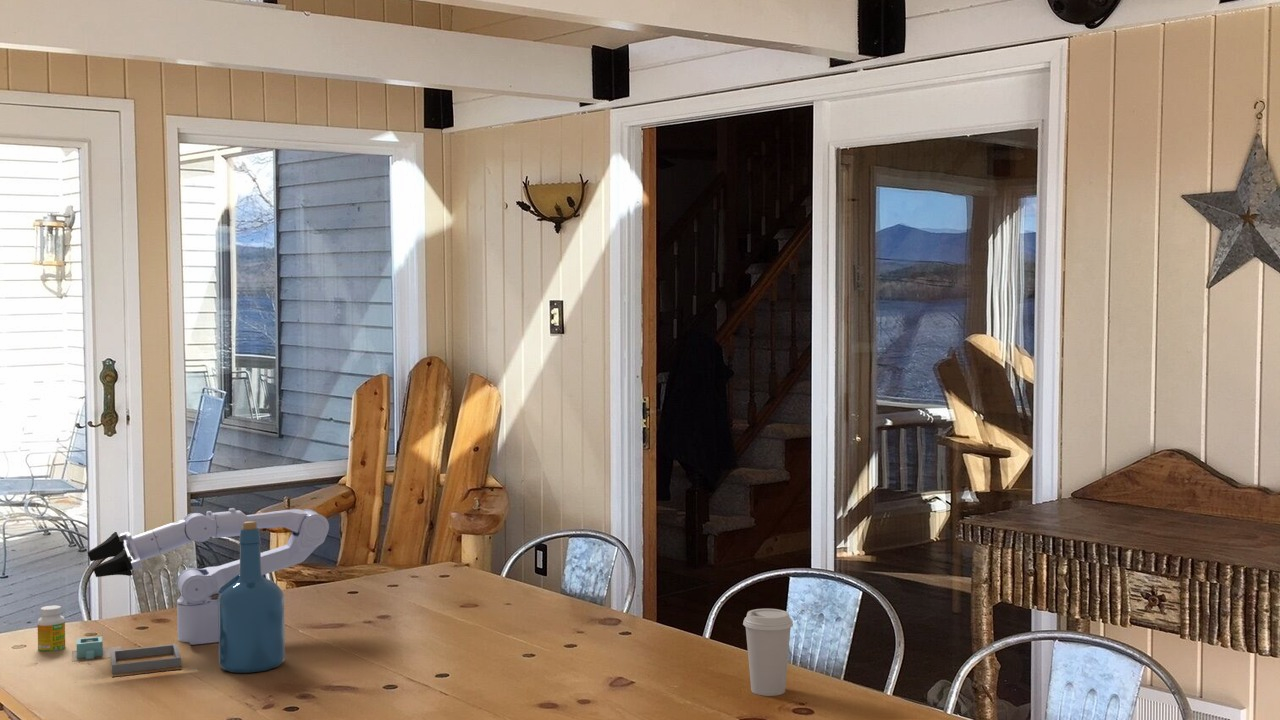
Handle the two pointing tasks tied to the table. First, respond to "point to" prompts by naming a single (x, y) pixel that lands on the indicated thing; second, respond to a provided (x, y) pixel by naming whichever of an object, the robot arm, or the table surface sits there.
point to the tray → (145, 664)
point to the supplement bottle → (51, 629)
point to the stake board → (105, 655)
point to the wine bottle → (250, 613)
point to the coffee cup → (768, 650)
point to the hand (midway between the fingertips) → (91, 564)
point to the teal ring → (89, 647)
